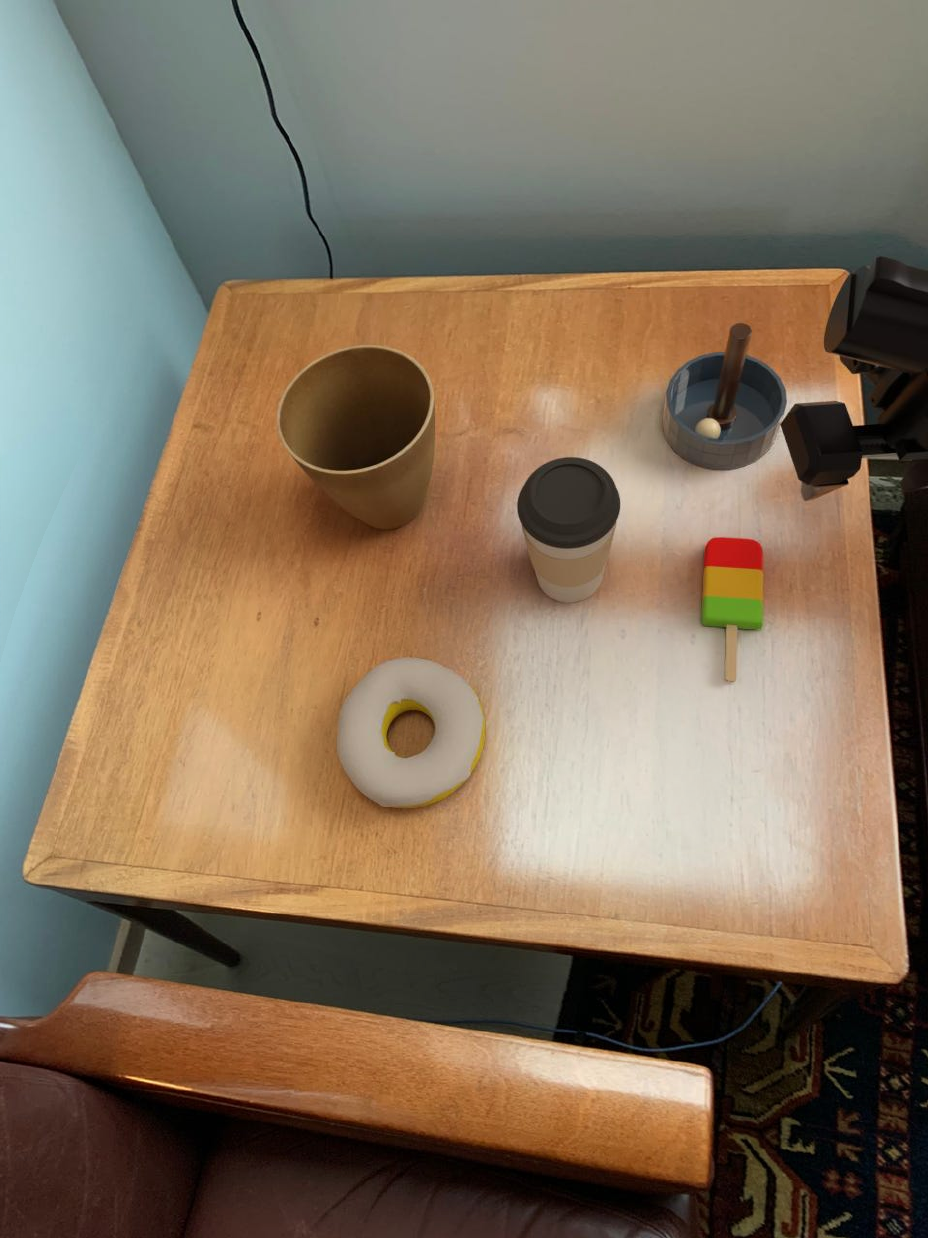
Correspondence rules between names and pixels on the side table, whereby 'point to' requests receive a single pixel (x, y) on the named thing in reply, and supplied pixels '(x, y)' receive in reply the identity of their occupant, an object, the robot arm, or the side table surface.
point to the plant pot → (363, 431)
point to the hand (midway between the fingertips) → (854, 491)
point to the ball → (708, 428)
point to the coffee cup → (569, 525)
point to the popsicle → (732, 591)
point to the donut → (376, 708)
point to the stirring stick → (730, 376)
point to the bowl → (754, 405)
